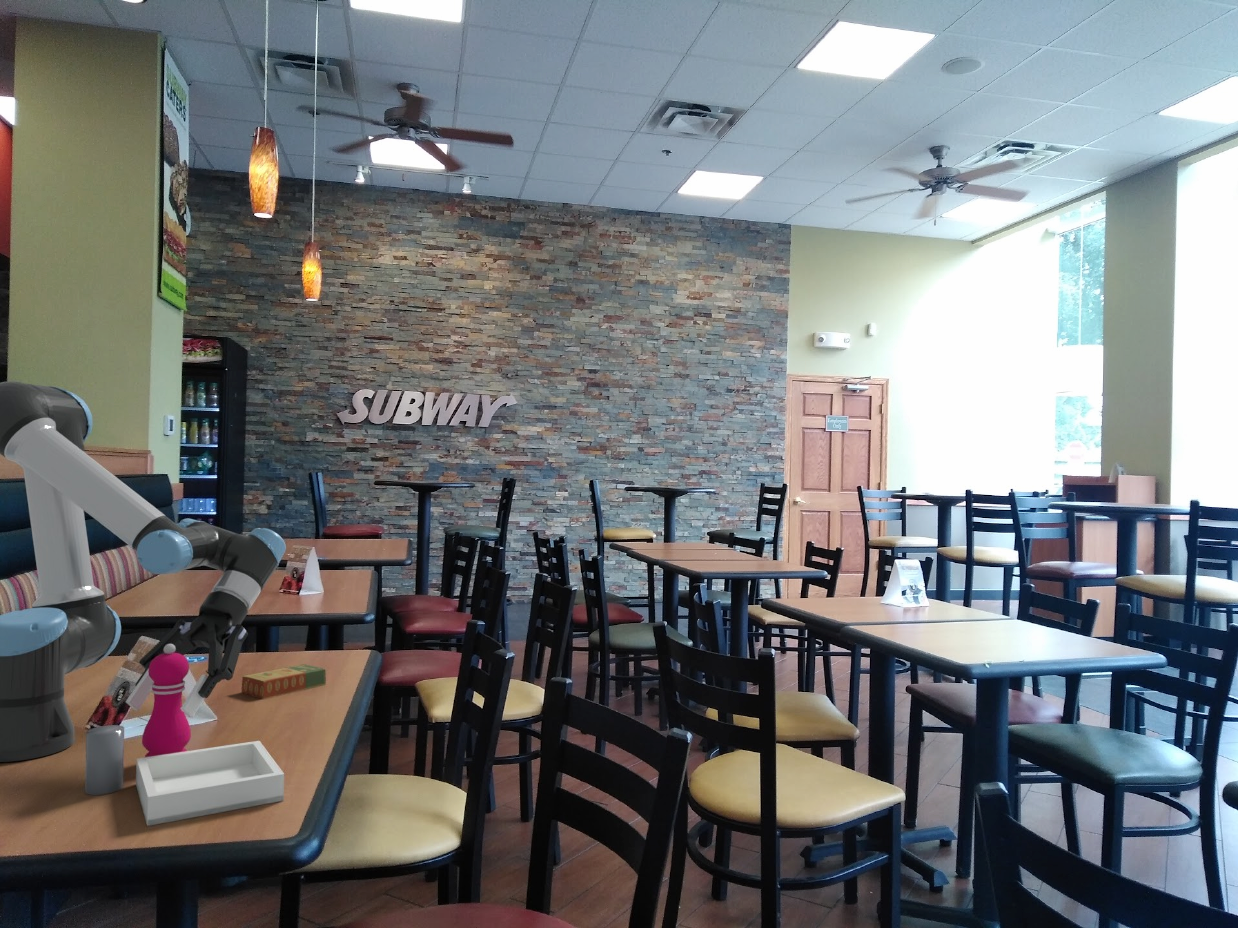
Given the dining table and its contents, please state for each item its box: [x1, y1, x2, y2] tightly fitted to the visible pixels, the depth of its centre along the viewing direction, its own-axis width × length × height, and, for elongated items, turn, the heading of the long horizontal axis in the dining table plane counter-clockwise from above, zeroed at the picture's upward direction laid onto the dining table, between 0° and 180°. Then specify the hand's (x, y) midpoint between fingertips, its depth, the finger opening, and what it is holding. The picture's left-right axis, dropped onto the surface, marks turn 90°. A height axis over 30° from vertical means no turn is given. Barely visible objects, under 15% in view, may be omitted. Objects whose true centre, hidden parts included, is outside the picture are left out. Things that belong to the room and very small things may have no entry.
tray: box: [135, 740, 285, 827], centre depth 130 cm, size 18×18×4 cm
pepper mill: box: [141, 644, 192, 757], centre depth 141 cm, size 7×7×20 cm
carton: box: [241, 663, 327, 700], centre depth 190 cm, size 8×16×4 cm, turn 147°
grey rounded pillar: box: [84, 724, 125, 796], centre depth 130 cm, size 5×5×9 cm
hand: (158, 709), depth 140 cm, fingers open, 10 cm apart
